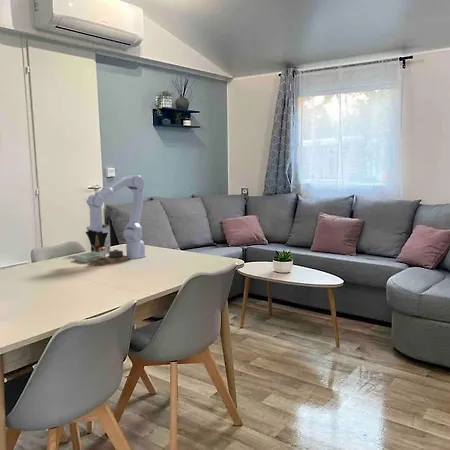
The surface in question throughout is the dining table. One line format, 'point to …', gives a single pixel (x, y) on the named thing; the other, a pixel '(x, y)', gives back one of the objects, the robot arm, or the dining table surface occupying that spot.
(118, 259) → the tensioner board
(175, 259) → the dining table surface
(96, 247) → the coffee box
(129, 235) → the robot arm
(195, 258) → the dining table surface
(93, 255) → the tray
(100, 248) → the lock pin
